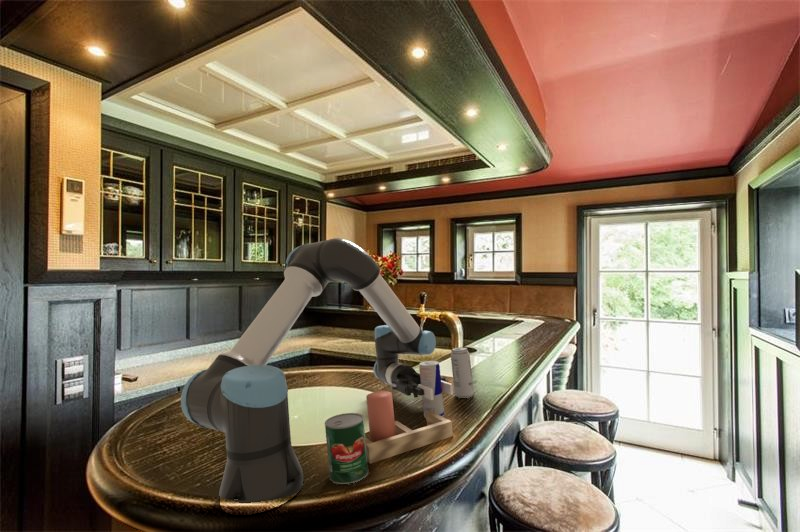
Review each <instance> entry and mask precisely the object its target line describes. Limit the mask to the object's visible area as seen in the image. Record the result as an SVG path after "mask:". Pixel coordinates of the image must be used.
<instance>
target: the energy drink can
mask: <svg viewBox="0 0 800 532" xmlns="http://www.w3.org/2000/svg"><path fill="white" fill-rule="evenodd" d="M450 360H451V362H450V363H451V372H452V380H453V381H452V382H453V394H454V395H455V396H456V398H457V397H458V399H460V398H467V399H470V397H471V398H472V397H473V395H474V393H475V392H474V383H473V374H472V373H473V372H472V365H471V364H472V363H471V354H470V352H469V351H468V347H462V346H461V347H460V346H459V347H454V348H452V349H451V353H450Z"/></svg>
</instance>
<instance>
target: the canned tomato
mask: <svg viewBox="0 0 800 532" xmlns="http://www.w3.org/2000/svg"><path fill="white" fill-rule="evenodd" d="M364 421H365V420H364V416H363V414H361V413H356V412H349V413H348V412H347V413H345V412H344V413H341V414H336V415H333V416H331V417H329V418H327V419H326V420H325V421H324V427H325V428H324V429H325V438H326V440H325V442H326V452H327V453H326V454H327V461H328V462H327V463H328V465H327V466H328V472H329V473H328V474H329V476H330V478H329V480H330V479H331V480H332V481H333V482H335V483H339V484H348V485H350V484H349V483H353V484H356V483H359V482H361V481H362V479H363V478H364V479H366V478H367V476H368V475H369V467H368V466H369V465H368V463H369V462H368V461H367V452H366V441H365V437H366V431H365V422H364ZM364 479H363V480H364ZM360 480H361V481H360ZM358 481H359V482H358ZM333 482H332V483H333ZM355 482H356V483H355ZM335 483H334V484H335Z"/></svg>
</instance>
